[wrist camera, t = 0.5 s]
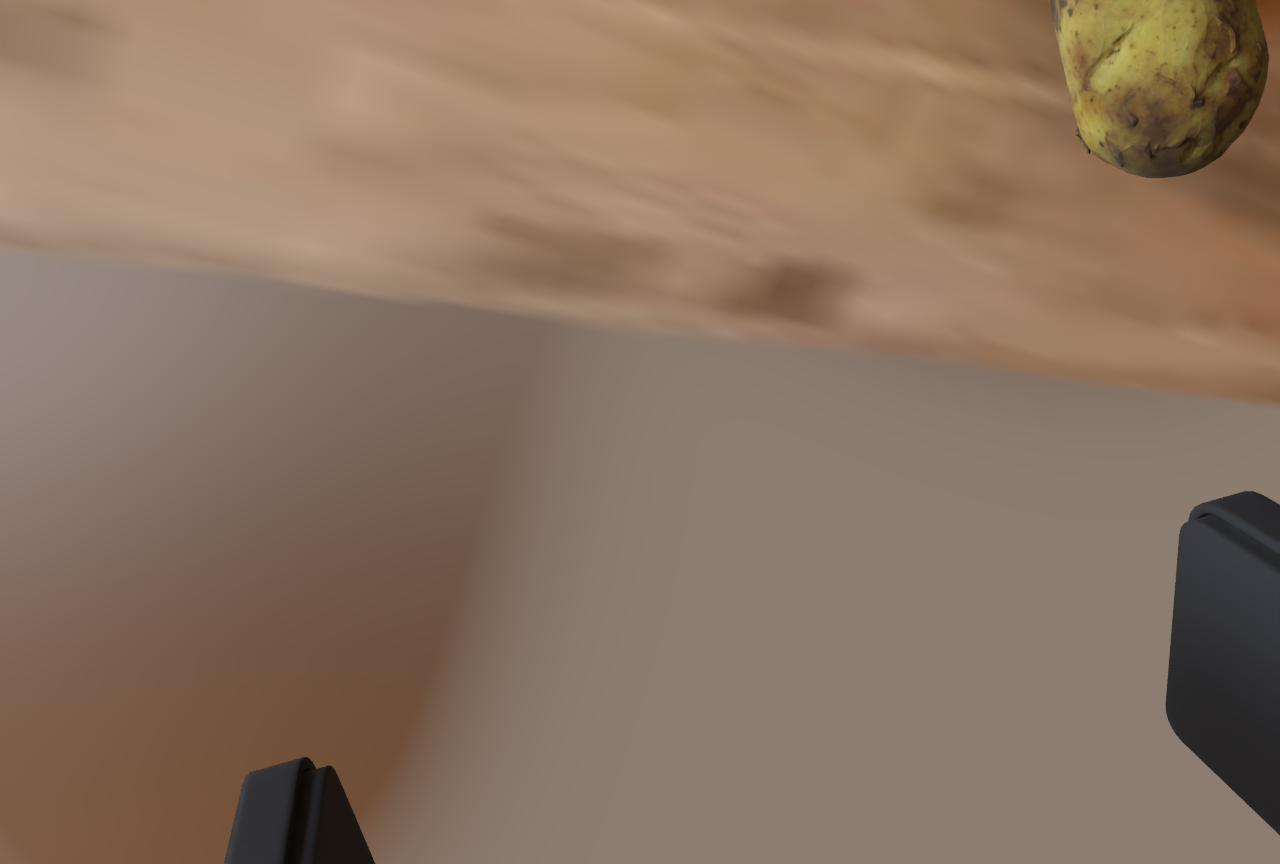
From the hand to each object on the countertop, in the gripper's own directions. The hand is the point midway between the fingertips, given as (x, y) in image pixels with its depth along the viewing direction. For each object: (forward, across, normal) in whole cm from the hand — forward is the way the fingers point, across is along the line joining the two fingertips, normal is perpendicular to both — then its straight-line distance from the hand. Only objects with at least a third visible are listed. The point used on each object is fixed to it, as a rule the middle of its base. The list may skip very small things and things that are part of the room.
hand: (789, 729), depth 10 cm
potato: (+30, -23, -4) cm, 38 cm away
